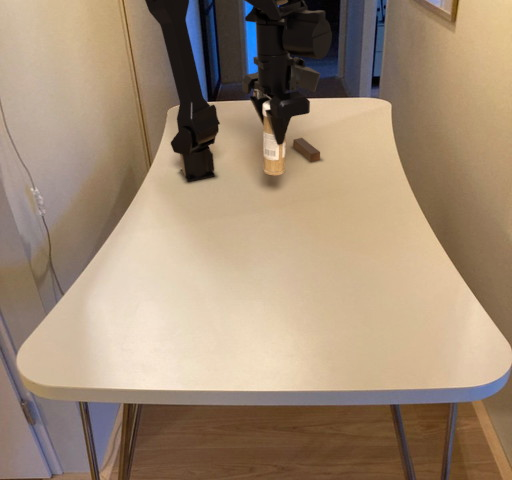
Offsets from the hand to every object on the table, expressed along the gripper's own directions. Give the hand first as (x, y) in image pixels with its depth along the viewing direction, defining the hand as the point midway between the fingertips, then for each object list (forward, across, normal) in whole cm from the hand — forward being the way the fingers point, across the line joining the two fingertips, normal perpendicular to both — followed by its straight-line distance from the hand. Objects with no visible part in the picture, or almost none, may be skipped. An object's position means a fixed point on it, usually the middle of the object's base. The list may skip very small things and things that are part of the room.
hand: (275, 140), depth 106 cm
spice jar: (+7, 0, 0) cm, 7 cm away
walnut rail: (+12, +19, -15) cm, 27 cm away
